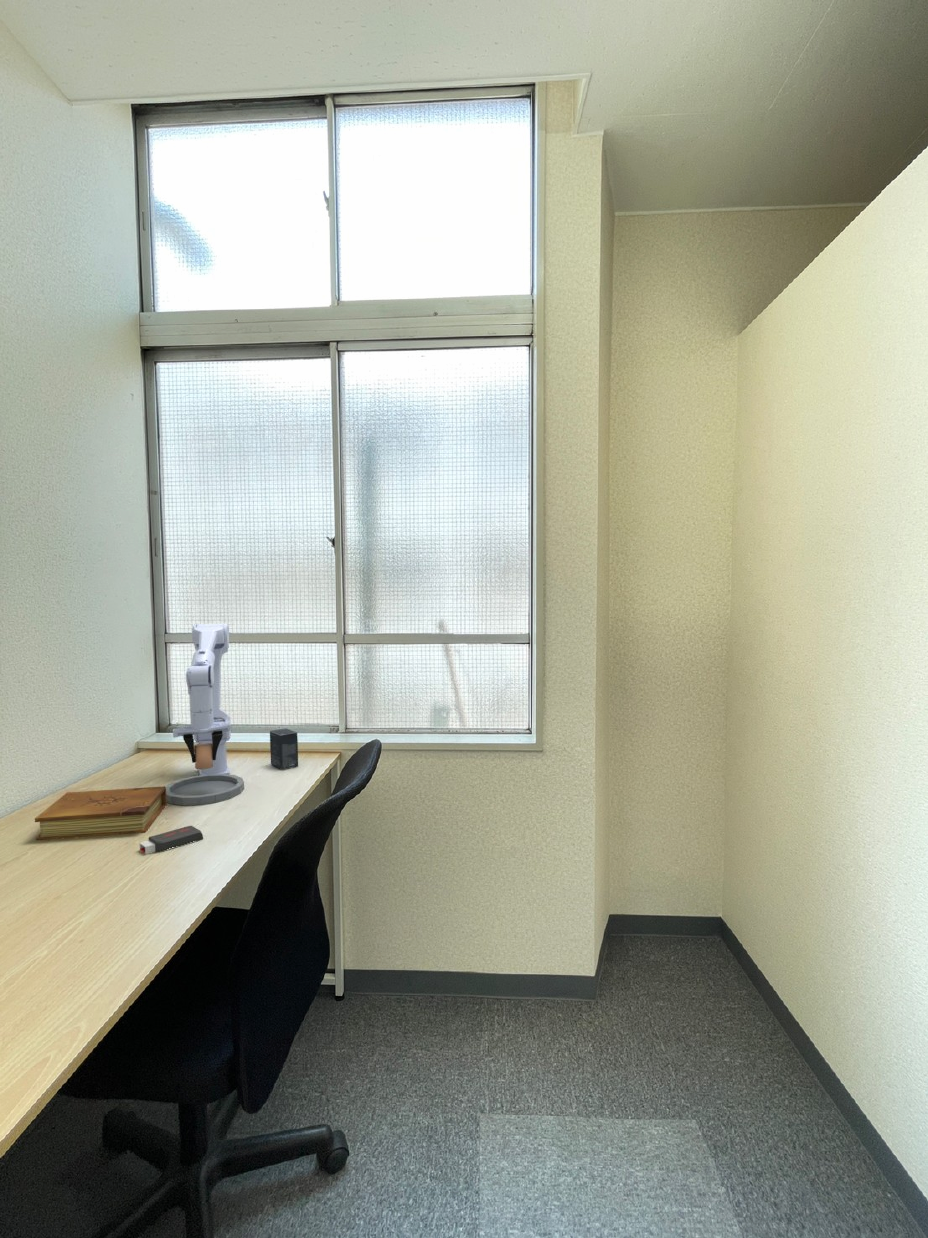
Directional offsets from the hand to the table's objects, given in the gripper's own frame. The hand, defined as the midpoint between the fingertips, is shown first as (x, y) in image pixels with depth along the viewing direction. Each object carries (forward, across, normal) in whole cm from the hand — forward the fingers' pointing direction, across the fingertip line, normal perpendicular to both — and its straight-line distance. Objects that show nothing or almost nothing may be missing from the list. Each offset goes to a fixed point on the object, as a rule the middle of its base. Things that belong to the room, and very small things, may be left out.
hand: (203, 760), depth 184 cm
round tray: (+9, 0, 0) cm, 9 cm away
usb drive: (+9, -10, -34) cm, 36 cm away
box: (+9, +24, +16) cm, 30 cm away
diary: (+9, -23, -12) cm, 28 cm away
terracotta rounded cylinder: (+2, 0, 0) cm, 2 cm away
